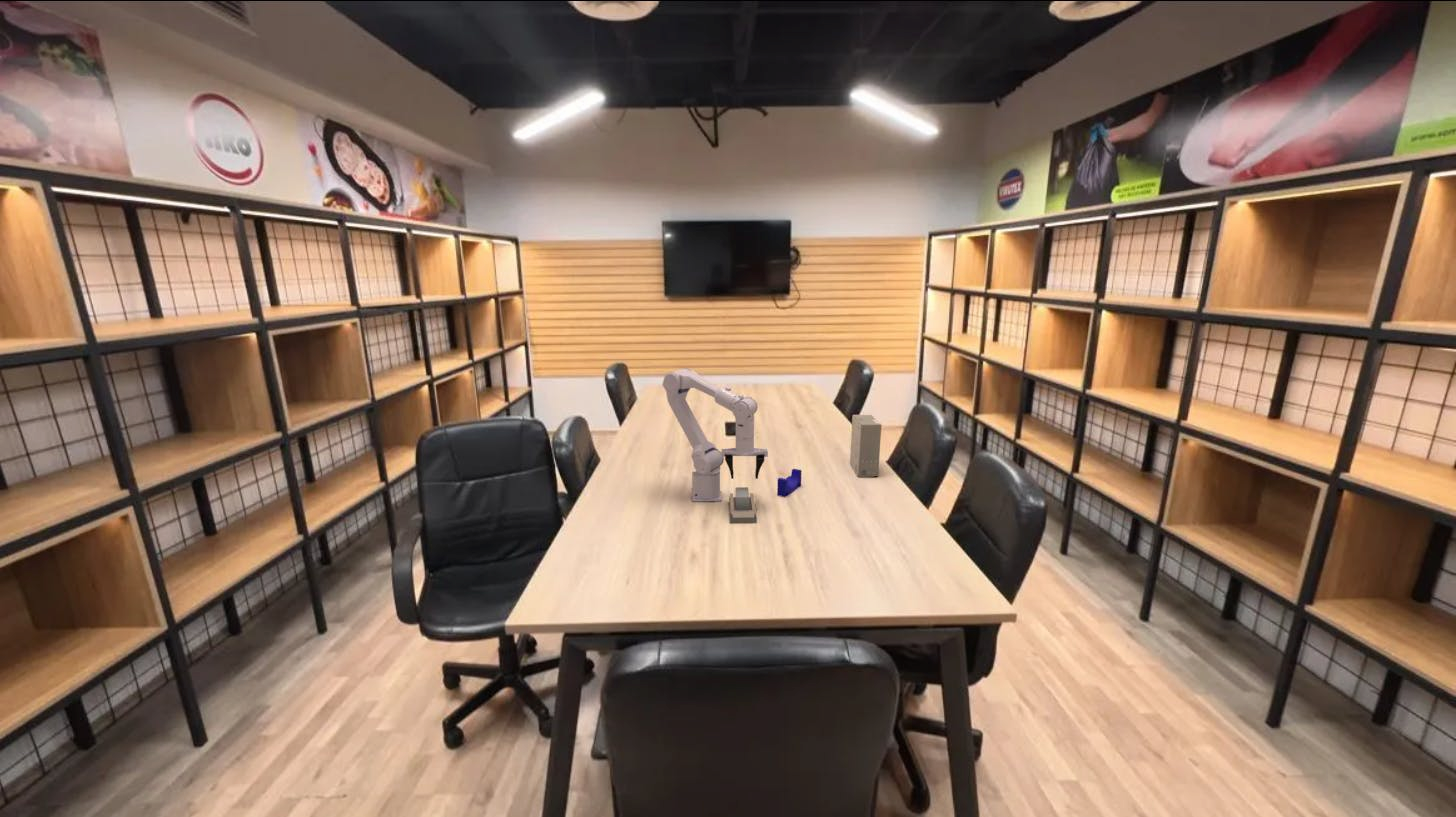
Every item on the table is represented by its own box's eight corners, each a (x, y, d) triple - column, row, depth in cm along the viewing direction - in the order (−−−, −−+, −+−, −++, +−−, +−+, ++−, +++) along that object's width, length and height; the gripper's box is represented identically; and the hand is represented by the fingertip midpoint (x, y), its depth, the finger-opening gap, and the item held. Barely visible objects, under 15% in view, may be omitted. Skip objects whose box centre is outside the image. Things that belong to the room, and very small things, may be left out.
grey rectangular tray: (730, 523, 166) (730, 512, 165) (729, 501, 181) (729, 491, 181) (756, 522, 166) (756, 511, 165) (753, 501, 182) (753, 491, 181)
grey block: (736, 512, 170) (736, 497, 168) (735, 502, 177) (735, 487, 176) (749, 512, 170) (749, 497, 168) (748, 502, 177) (748, 487, 176)
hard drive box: (878, 477, 202) (882, 424, 197) (857, 477, 202) (860, 424, 198) (868, 463, 217) (871, 414, 212) (849, 463, 217) (851, 414, 213)
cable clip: (789, 483, 197) (789, 467, 196) (801, 486, 195) (801, 470, 193) (773, 494, 187) (773, 478, 186) (785, 497, 185) (785, 480, 184)
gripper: (721, 440, 170) (721, 482, 173) (768, 440, 169) (768, 482, 173) (721, 433, 176) (721, 474, 180) (767, 433, 176) (766, 474, 180)
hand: (744, 477), depth 177 cm, fingers open, 7 cm apart
